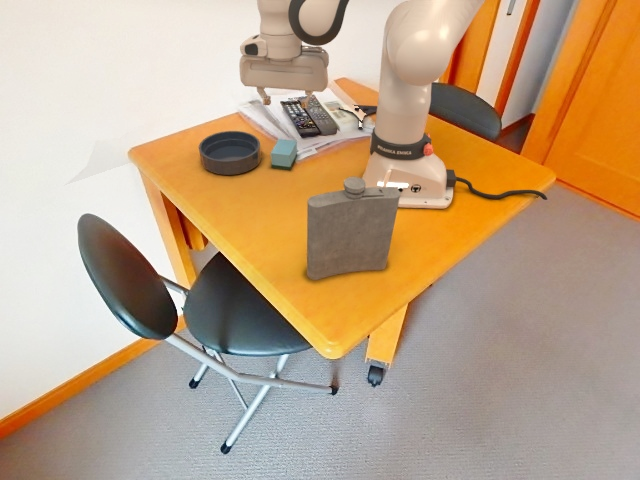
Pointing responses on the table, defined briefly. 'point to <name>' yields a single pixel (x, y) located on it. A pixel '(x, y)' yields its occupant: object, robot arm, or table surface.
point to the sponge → (284, 154)
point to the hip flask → (350, 229)
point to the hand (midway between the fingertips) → (286, 105)
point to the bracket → (366, 110)
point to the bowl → (230, 152)
